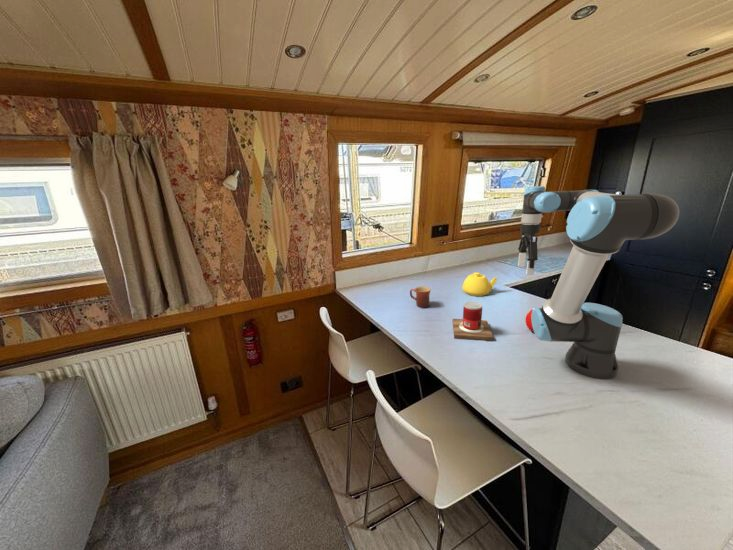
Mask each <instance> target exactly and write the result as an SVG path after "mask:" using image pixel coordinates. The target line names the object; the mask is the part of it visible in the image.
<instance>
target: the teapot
mask: <svg viewBox="0 0 733 550" xmlns="http://www.w3.org/2000/svg"><path fill="white" fill-rule="evenodd" d="M497 280H498V277H496V276H494V277H493V278H492V279H491V280H490V281H489V280H488V278H487V277H486V275H485V274H481V272H473V273H471V274H469V275H467V277H466V278H465V280H463V283H462V285H461V286H462V288H461V289H462V290H463V292H464V293H465V294H466V295H469V296H471V297H484V296H486V295H487V296H488V294H489V293H490V292H491V291H492V289H493V288H494V285H495V283H496V282H497Z"/></svg>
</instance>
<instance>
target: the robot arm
mask: <svg viewBox="0 0 733 550" xmlns="http://www.w3.org/2000/svg"><path fill="white" fill-rule="evenodd" d="M566 211H567V212H569V211H570V212H569V213H568V216H567V219H566V224H567V225H566V226H565V229H566V230H565V231H566V234H567V236H568V237H569V240H570V243H571V244H572V245H573V246H572V248H571V250H570V253H569V255H568V256H567V260H566V262H565V264H564V267H563V269H562V272H561V274H560V276H559V278H558V281H557V284H556V286H555V288H554V290H553V293H552V296H551V297H550V298H548V299H546V300H545V301H544V302H543V303H542V306H541V307H535V308H533V309H531V310H532V314H531V320H532V326H533V330H534V332H533V333H534V334H535V337H536V338H537V339H538V340H540V341H544V342H561V343H562V342H563V343H565V342H566V343H569V342H570V343H572V345H571V346H570V347H569V349H568V351H566V354H565V357H564V358H565V359H564V361H565V363H566V365H567V366H568V367H569V368H571V369H572V370H574V371H575V372H577V373H580V375H583V376H587V377H591V378H595V379H600V380H601V379H603V380H605V379H606V380H608V379H613V378H615V377H616V376H617V375H618V371H619V365H618V360H617V356H616V350H617V345H618V342H619V337H620V333H621V328H623V319H624V318H623V315H622V314H621V313H620V311H618V310H616V309H614V308H612V307H610V306H608V305H603V304H600V303H594V302H585V301H586V299H587V297H588V296H589V293H590V292H591V289H592V288H593V286H594V284H595V282H596V280H597V278H598V277H599V275H600V273H601V270H603V267H604V266H605V263H606V262H607V259H608V257H609V256H610V255H613V254H616V253H618V252H619V251H620V250H621V248H622V246H623V244H624V243H625V242H626V241H631V240H632V241H635V240H648V239H649V240H650V239H655V238H657V237H659V236H663V234H666V233H667V232H669V231H670V230H671V229H672V228H673V227H674V226H675V225H676V224H677V222H678V220H679V217H680V207H679V205H678V204H677V202H676V201H675V200H674V199H673V198H671V197H670V196H667V195H664V194H658V193H640V194H639V193H637V194H636V193H635V194H615V193H609V192H608V193H606V192H601V191H599V190H597V189H584V190H559V191H546V186H544V185H541V186H540V185H535V186H526V188H525V189H524V194H523V201H522V213H521V219H520V223H521V224H520V231H519V232H520V233H521V237H520V241H519V244H518V247H517V249H518V252H519V253H518V261H517V267H523V268H524V267H525V265H526V264H525V263H526V261H527V265H526V271H525V275H526V276H534V274H535V264H536V262H537V261H538V260H539V259H538V236H535V235H536V234H539V233H540V232H541V226H542V224H541V222H542V218H544V215H543V213H545V214H549V213H553V212H566ZM527 256H528V258H527ZM526 258H527V259H526Z"/></svg>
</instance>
